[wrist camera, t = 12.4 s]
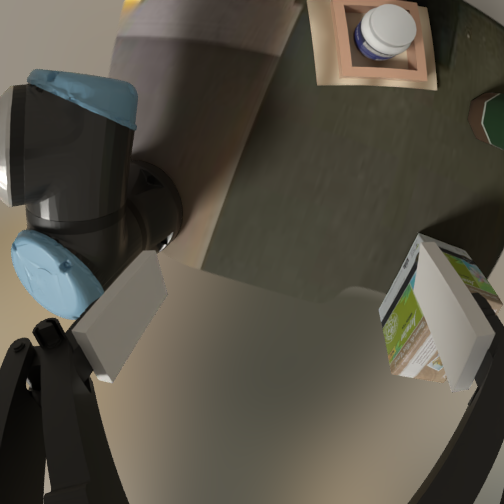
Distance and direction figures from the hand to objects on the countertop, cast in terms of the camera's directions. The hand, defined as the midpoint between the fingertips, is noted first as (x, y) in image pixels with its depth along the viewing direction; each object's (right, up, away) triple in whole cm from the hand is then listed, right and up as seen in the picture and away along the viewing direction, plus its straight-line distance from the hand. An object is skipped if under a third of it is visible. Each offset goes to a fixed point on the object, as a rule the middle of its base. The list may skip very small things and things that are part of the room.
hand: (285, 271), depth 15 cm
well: (+14, +27, +15) cm, 34 cm away
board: (+14, +27, +16) cm, 34 cm away
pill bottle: (+13, +27, +15) cm, 34 cm away
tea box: (+25, -4, +30) cm, 40 cm away
